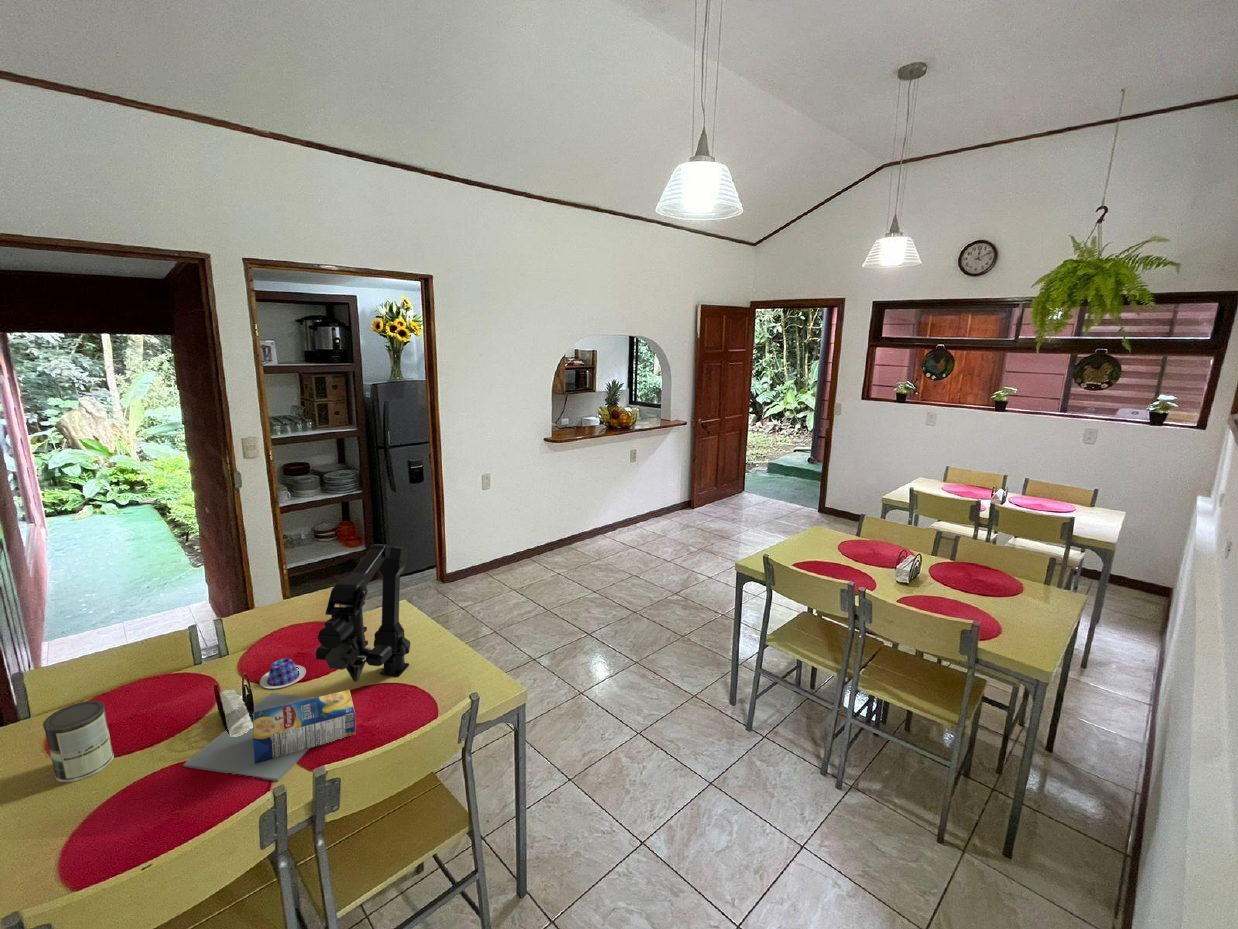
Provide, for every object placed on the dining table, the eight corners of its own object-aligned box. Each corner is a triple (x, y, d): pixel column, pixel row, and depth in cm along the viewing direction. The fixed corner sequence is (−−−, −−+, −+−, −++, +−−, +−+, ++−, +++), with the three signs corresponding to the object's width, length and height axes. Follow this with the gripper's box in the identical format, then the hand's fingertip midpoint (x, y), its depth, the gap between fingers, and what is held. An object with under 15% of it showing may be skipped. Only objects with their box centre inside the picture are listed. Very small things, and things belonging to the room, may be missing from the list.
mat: (271, 694, 160) (271, 693, 160) (351, 705, 157) (351, 703, 157) (183, 766, 133) (183, 764, 133) (278, 781, 130) (277, 779, 130)
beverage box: (355, 736, 145) (254, 764, 134) (349, 711, 154) (255, 735, 143) (354, 713, 144) (253, 739, 132) (349, 689, 153) (253, 712, 141)
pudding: (293, 662, 177) (292, 647, 175) (314, 676, 170) (312, 660, 169) (252, 681, 167) (250, 665, 166) (272, 696, 160) (270, 679, 159)
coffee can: (41, 784, 127) (29, 730, 124) (80, 751, 137) (69, 700, 134) (90, 782, 128) (79, 728, 125) (125, 749, 138) (115, 699, 135)
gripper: (297, 640, 140) (303, 695, 143) (366, 647, 137) (371, 703, 141) (326, 618, 151) (331, 670, 154) (391, 625, 148) (394, 678, 151)
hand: (356, 681), depth 150 cm, fingers closed
